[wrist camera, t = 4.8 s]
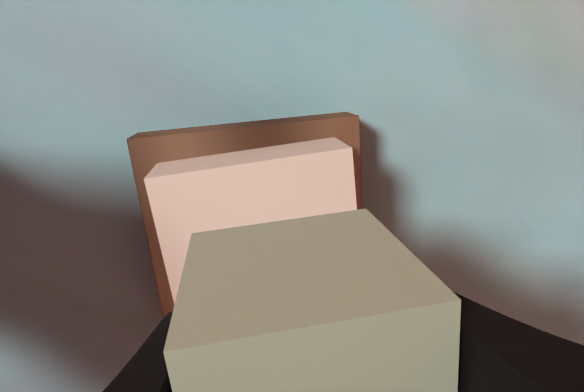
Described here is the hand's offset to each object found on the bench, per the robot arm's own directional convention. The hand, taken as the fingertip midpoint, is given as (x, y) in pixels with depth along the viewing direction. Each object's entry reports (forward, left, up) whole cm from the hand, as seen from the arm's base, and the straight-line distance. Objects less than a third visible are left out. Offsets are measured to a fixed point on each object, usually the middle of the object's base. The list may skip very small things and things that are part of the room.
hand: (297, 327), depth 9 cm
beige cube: (0, 0, -1) cm, 1 cm away
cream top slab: (0, -1, -8) cm, 8 cm away
